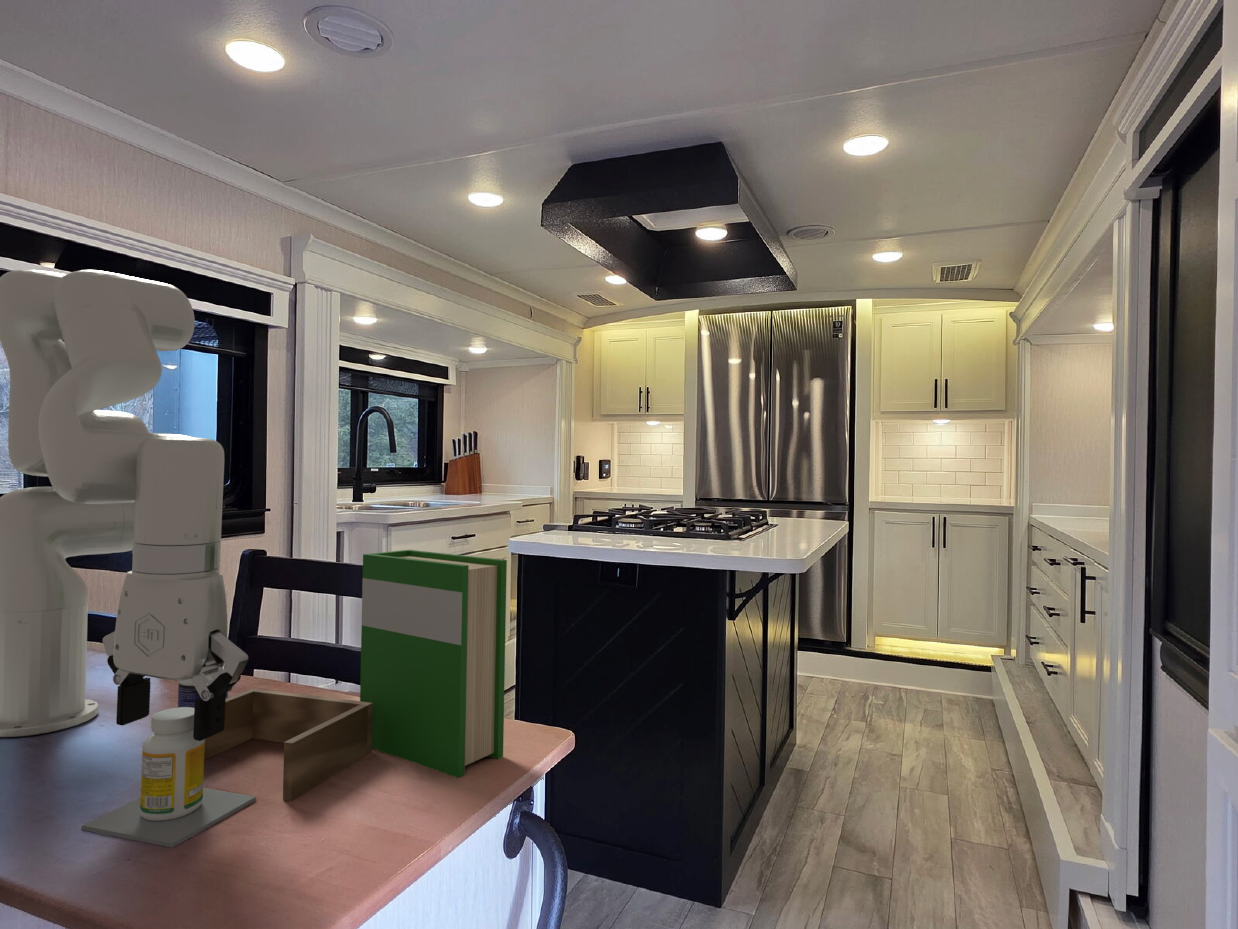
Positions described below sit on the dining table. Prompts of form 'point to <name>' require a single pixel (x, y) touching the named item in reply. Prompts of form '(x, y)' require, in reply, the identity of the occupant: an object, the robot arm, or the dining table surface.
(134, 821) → the grey mat
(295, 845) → the dining table surface
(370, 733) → the wooden u-shaped frame
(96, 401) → the robot arm
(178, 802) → the supplement bottle
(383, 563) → the hardback book
